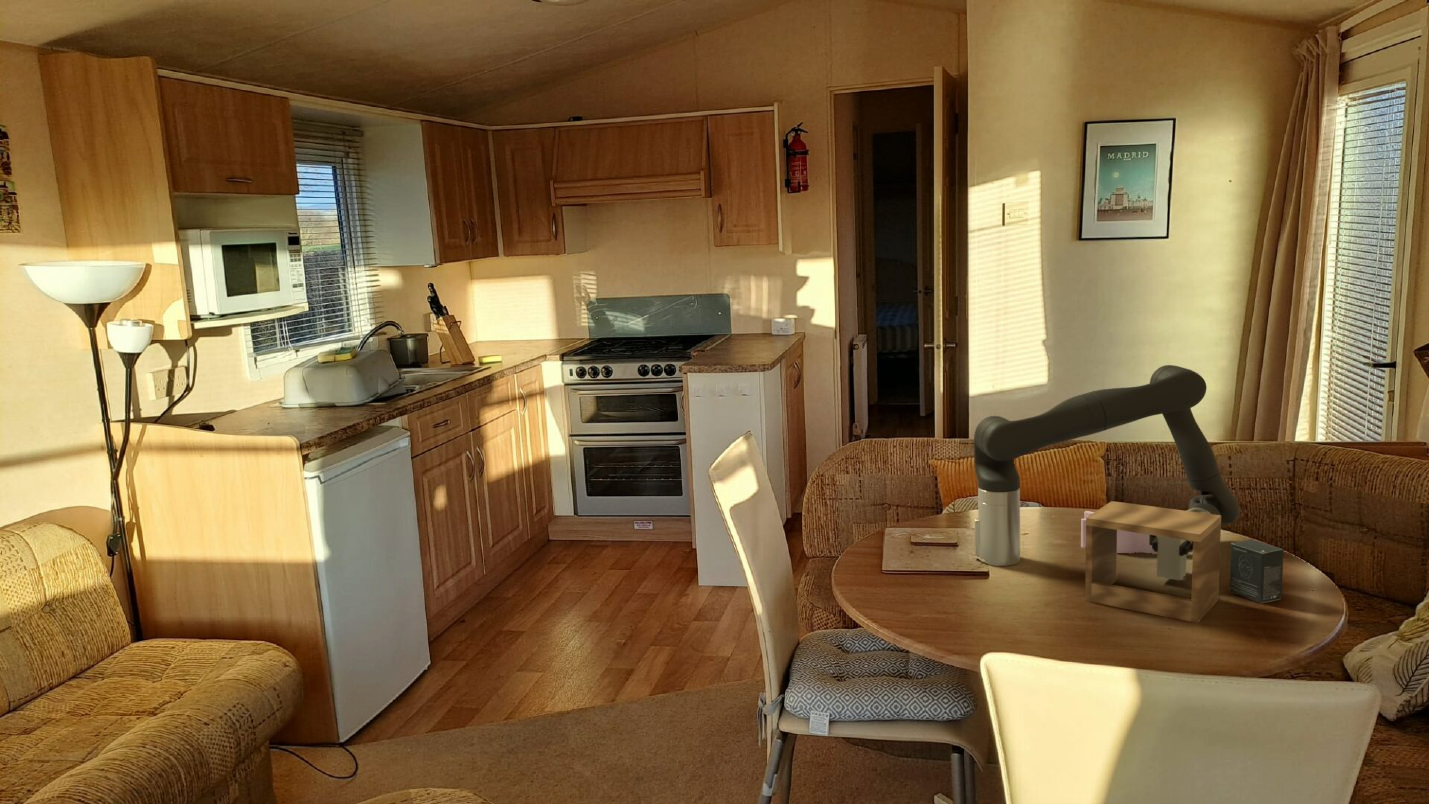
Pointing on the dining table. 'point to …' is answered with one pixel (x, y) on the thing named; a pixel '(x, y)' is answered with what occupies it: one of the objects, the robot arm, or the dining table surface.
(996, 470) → the robot arm
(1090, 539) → the shelf
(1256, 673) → the dining table surface
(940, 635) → the dining table surface
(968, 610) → the dining table surface
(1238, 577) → the box
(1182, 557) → the block
